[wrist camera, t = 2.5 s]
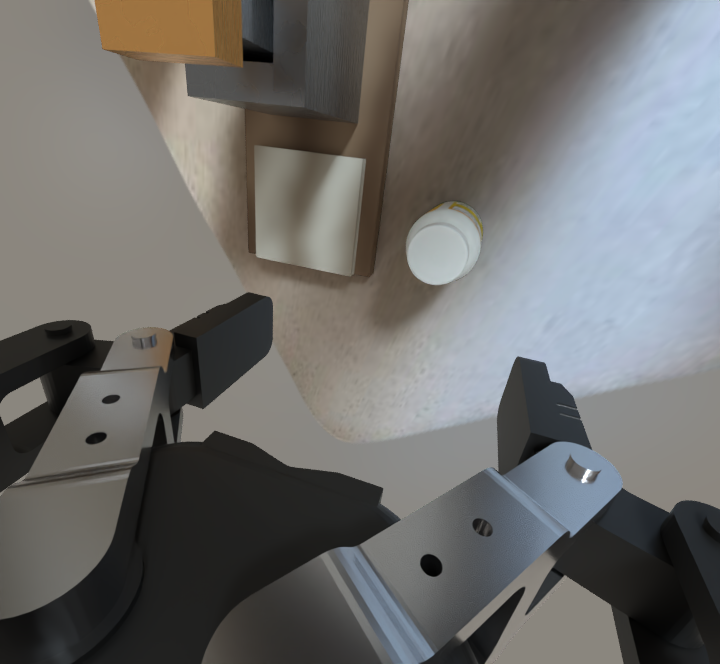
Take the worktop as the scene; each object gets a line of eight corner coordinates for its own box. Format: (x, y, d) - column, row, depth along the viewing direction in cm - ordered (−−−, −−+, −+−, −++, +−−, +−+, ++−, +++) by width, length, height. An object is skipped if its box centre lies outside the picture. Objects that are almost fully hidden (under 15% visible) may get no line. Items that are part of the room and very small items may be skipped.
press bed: (411, -22, 26) (404, -39, 24) (373, 273, 36) (365, 279, 34) (252, -24, 29) (233, -39, 27) (256, 249, 39) (242, 254, 37)
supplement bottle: (484, 198, 31) (482, 210, 22) (481, 262, 33) (479, 295, 24) (419, 203, 32) (395, 216, 24) (421, 263, 34) (399, 295, 26)
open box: (369, -4, 26) (311, -86, 18) (358, 123, 30) (304, 107, 21) (270, -6, 28) (173, -82, 20) (270, 114, 32) (187, 95, 23)
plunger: (332, -12, 23) (203, -155, 13) (326, 100, 26) (215, 57, 15) (248, -13, 25) (71, -144, 14) (250, 93, 27) (102, 49, 17)
